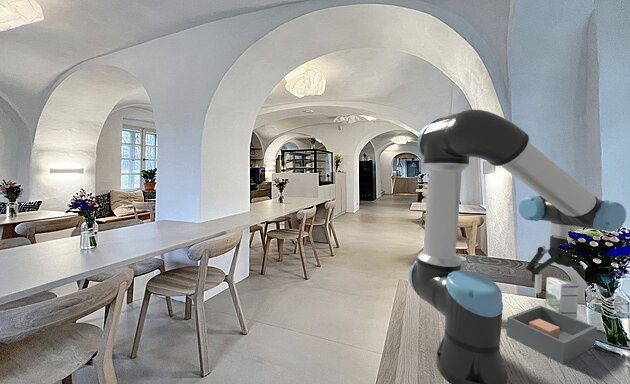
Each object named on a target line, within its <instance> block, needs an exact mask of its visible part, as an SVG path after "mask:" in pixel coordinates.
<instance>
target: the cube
mask: <svg viewBox="0 0 630 384" xmlns="http://www.w3.org/2000/svg"><path fill="white" fill-rule="evenodd" d="M529 326H530V327H533V328H535V329H537V330H539V331H541V332H544V333H546V334H548V335H550V336H552V337H555V338H557V339H559V332H560V327H558V326H555V325H553V324H551V323H548V322H546V321H544V320H541V319H537V320H534V321H531V322H529Z"/></svg>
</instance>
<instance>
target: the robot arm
mask: <svg viewBox="0 0 630 384" xmlns="http://www.w3.org/2000/svg"><path fill="white" fill-rule="evenodd" d="M530 141H531V140H530V136H529V134H528V133H526V132H525V131H524V130H523V129H521V128H520V127H519V126H518V125H516V124H515V123H513V122H511V121H509V120H508V119H506V118H504V117H502V116H500V115H499V114H496V113H494V112H490V111H487V110H483V109H467V110H463V111H461V112H458V113H455V114H451V115H448V116H443V117H439V118H436V119H434V120H432V121H430V122H429V123H427V124H426V125H424V127H423V128H422V129H421V130H420V132H419V134H418V137H417V142H416V143H417V145H416V146H417V150H418V152H419V153H420V155H421V157H423V166H424V168H426V169H427V171H428V174H427V175H428V176H427V189H426V190H427V191H426V205H425V218H424V219H425V220H424V231H423V232H424V233H423V235H424V236H423V248H422V249H423V250H422V251H421V252H420V253H418V254H417V257H416V260H415V261H414V263H413V264H412V265H411V266H410V268H409V271H408V281H409V284H410V286H411V289H412V290H413V292H415V293H416V294H417V296H419V297H420V299H422V300H423V301H425V302H427V304H429V305H430V306H432V307H433V308H434V309H435V310H436V311H438V312H439V313H440V314H442V315H443V316H444V318H445V319H444V320H445V321H444V335H443V336H442V339H441V342H440V343H439V346H438V348H437V351H436V355H435V358H436V360H435V364H436V367H437V369H438V371H439V373H440V374H441V376H442V377H444V378H445V379H446V380H447V382H449V383H451V384H508V373H507V370H506V366H505V363H504V360H503V356H502V353H501V350H500V349H501V348H500V345H501V334H502V333H501V332H502V321H503V319H502V318H503V310H504V309H503V308H504V303H503V295H502V294H503V293H502V290H501V288H500V287H499V285H498V284H497V283H496V282H494V281H493V280H491V279H490V278H488V277H486V276H484V275H483V274H479V273H474V272H472V271H468V270H464V271H461V261H460V260H459V259H458V258H457V257H456V255H457V254H456V253H457V241H458V226H459V216H460V215H459V214H460V201H461V191H462V190H461V189H462V175H463V174H462V173H463V171H464V170H466V168H468V167H469V165H470V158H477V159H481V160H484V161H486V162H488V163H489V164H490V165H491V166H494V167H501V168H503V169H505V170H506V171H507V172H509V173H510V174H511V175H513V176H514V177H515V178H516V179H517V180H519V181H520V182H522V183H523V184H524V185H525V186H527V187H528V188H530V189H531V190H532V191H533V192H534V193H536V194H537V195H532V196H530V195H529V196H525V197H523V198H522V199H521V200H519V202H518V206H517V209H518V213H519V216H520V217H522V218H523V219H525V220H526V221H533V222H538V221H545V222H550V231H549V233H550V236H549V248H547V247H546V246H544V245H542V246H538V247H537V251H536V253H535V255H534V256H533V258H532V259H531V260H530V261H529V263H528V264H527V265H526V266H525V269H526V270H527V271H528V272H531V281H532V282H533V283H534V289H533V291H534V292H533V293H534V294H540V293H542V284H543V283H542V281H543V274H542V273H541V272H542V271H543V270H545V269H547V267H549V266H551V265H553V264H554V263H555V264H556V265H559V266H564V267H568V268H570V267H571V268H572V269H573V271H575V272H576V273H577V274H578V275H579V276H580V277H581V279H582V281H584V275H585V270H586V269H585V268H584V265H583V264H582V263H581V261H575V260H572V259H571V257H572V255H571V254H569V253H568V252H566V251H563V250H561V249H559V248H558V246H559V245H560V243H568V241H567V237H568V230H570V228H571V229H576V230H577V229H583V230H584V228H585V229H591V230H594V231H603V232H604V231H605V232H615V231H618V230H619V229H621V228H622V227H623V226H624V224H625V222H626V220H627V211H626V208H625V207H624V205H622V203H620V202H616V201H609V200H601V199H599V198H598V197H597V196H595V194H593V192H591V191H589V190H588V189H587V188H586V187H585V186H583V185H582V184H581V183H580V182H578V181H577V180H576V179H575V178H573V176H571V175H570V174H569V173H568V172H566V171H565V170H564V169H563V168H561V167H560V166H559V165H558V164H556V163H555V162H554V161H553V160H551V159H550V158H549V157H548V156H547V155H545V154H544V153H543V152H541V151H540V150H539V149H538V148H537V147H536V146H535V145H533V144H532V143H531V142H530ZM547 253H548V255H549V256H550V257H549V258H548V259H547V260H545V261H544V262H543V263H541V264H539V262H540V261H541V260H542V258H543V257H544V256H545V254H547ZM538 264H539V265H538ZM537 265H538V266H537ZM585 284H586V285H587V286H588V287H589V286H590V285H591V286H592V287H591V288H590V289H592V288H594V284H592V283H587V282H585ZM590 289H587V293H588V292H590ZM591 291H592V292H593V291H594V292H596V289H595V290H591ZM586 296H587V297H588V295H586Z"/></svg>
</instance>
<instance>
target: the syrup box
mask: <svg viewBox="0 0 630 384" xmlns="http://www.w3.org/2000/svg"><path fill="white" fill-rule="evenodd" d="M545 289H546V290H545V306H544V307H546V308H548V309H551V310H554V311H556V312H559V313H561V314H564V315H567V316H569V317H572V318H574V319H577V320H578V306H579V305H578V303H579V290H580V284H579V283H577V282H574V281H573V280H570V279H567V278H565V277H562V276H547V277H546V287H545Z"/></svg>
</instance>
